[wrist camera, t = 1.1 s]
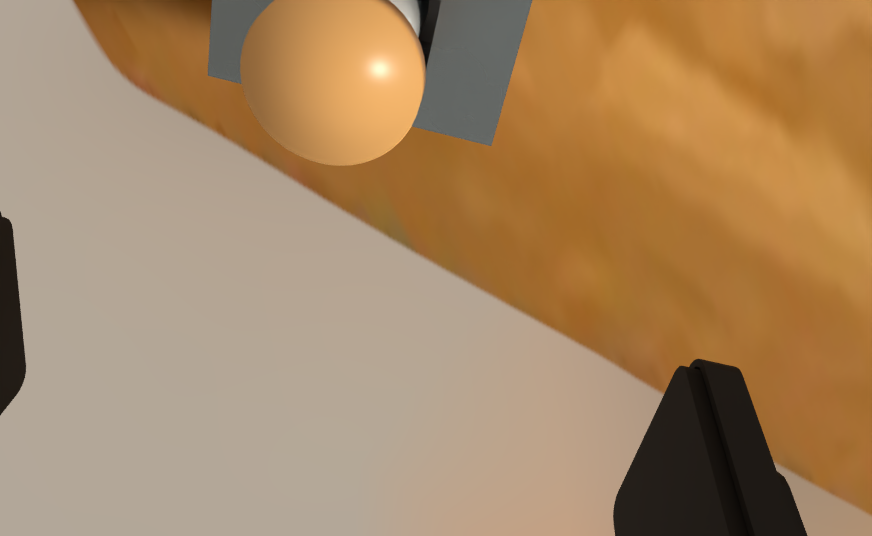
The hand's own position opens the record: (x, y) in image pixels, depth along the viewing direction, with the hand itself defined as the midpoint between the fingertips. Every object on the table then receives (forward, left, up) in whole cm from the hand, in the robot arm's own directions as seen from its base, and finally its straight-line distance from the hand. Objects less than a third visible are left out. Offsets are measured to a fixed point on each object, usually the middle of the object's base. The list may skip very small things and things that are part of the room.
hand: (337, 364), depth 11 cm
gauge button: (+1, -3, -20) cm, 20 cm away
